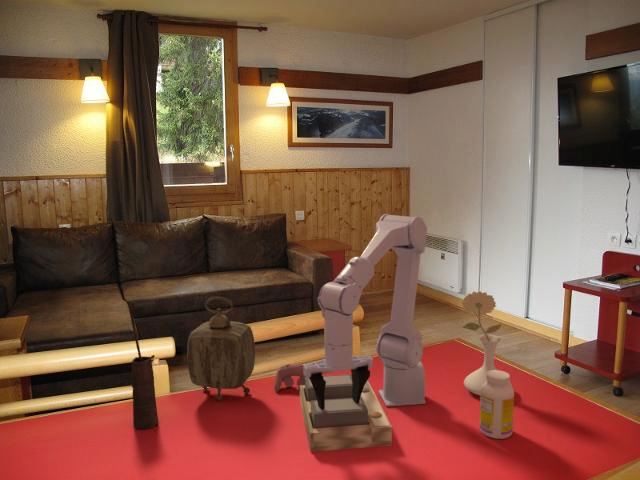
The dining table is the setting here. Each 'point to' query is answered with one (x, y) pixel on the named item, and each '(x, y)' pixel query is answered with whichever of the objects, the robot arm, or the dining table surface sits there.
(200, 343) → the tabletop clock
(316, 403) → the brown block
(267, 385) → the dining table surface
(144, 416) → the butter churn
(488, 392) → the supplement bottle
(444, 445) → the dining table surface
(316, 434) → the switch panel
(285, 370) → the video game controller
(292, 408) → the dining table surface
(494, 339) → the flower in vase
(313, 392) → the key grey
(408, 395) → the robot arm
